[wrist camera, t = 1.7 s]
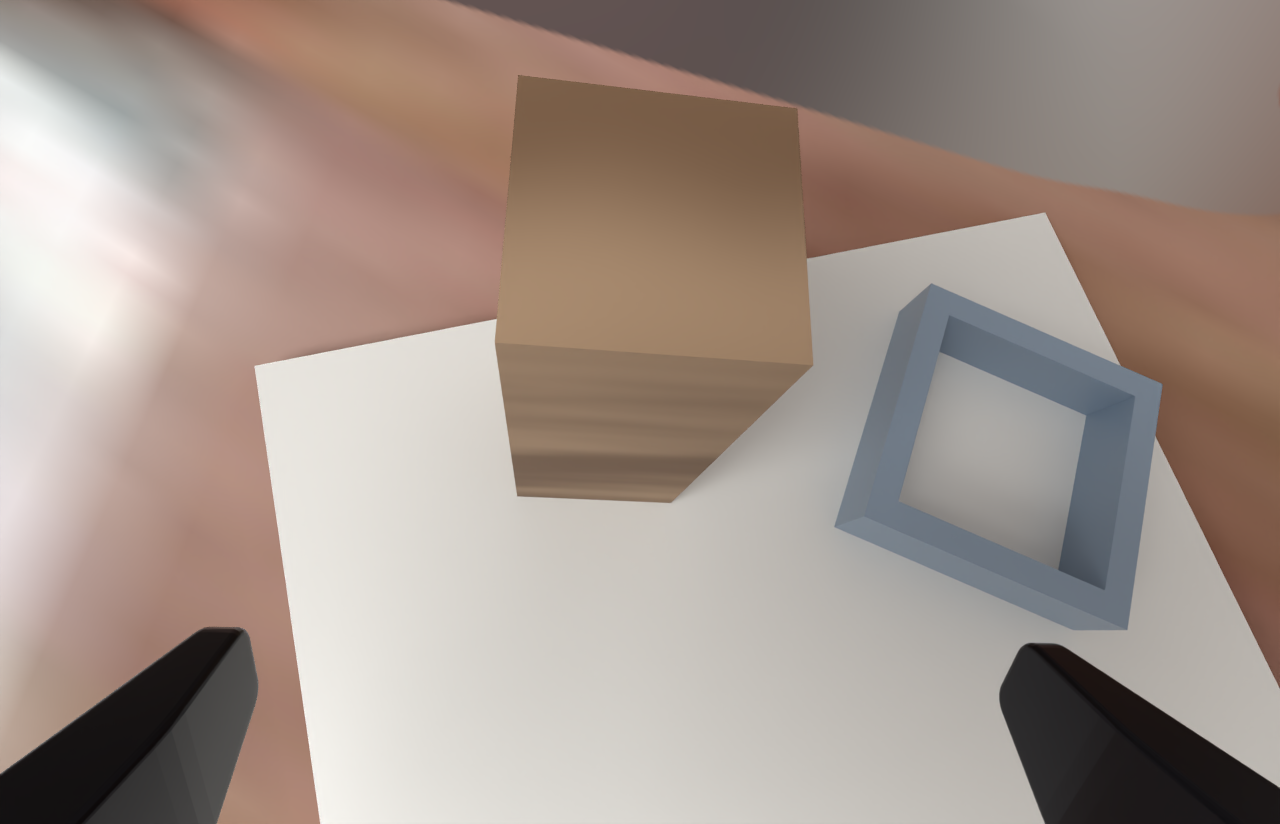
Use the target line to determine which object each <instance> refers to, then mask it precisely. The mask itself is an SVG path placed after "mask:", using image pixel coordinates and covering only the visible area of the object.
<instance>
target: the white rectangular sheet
mask: <svg viewBox="0 0 1280 824" xmlns="http://www.w3.org/2000/svg"><path fill="white" fill-rule="evenodd" d="M807 272H808V288H809V304H810V320H811V336H812V352H813V366H812V367H811V368H810V369H809V370H808V371H807V372H806V373H805V374H804V375H803V376H802V377H801V378H800V379H799V380H798V381H797V382H795V383H794V384H793V385H792V386H791V387H790V388H789V389H788V390H787V391H786V392H785V393H784V394H783V395H782V396H781V397H780V398H779V399H778V400H777V401H776V402H775V403H774V404H773V405H772V406H771V407H770V408H769V409H768V410H767V411H765V412H764V413H763V414H762V415H761V416H760V417H759V418H758V419H757V420H756V421H755V422H754V423H753V424H752V425H751V426H750V427H749V428H748V429H747V430H746V431H745V432H744V433H743V434H742V435H741V436H740V437H739V438H738V439H737V440H735V441H734V442H733V443H732V444H731V445H730V446H729V447H728V448H727V449H726V450H725V451H724V452H723V453H722V454H721V455H720V456H719V457H718V458H717V459H716V460H715V461H714V462H713V463H712V464H711V465H710V466H709V467H708V468H707V469H705V470H704V471H703V472H702V473H701V474H700V475H699V476H698V477H697V478H696V479H695V480H694V481H693V482H692V483H691V484H690V485H689V486H688V487H687V488H686V489H685V490H684V491H683V492H682V493H681V494H680V495H679V496H678V497H677V498H676V499H674V500H673V501H672V502H671V503H658V502H635V501H612V500H589V499H566V498H543V497H520V496H517V492H516V485H515V478H514V471H513V464H512V458H511V451H510V444H509V437H508V430H507V424H506V417H505V410H504V403H503V396H502V389H501V383H500V376H499V369H498V362H497V355H496V349H495V333H496V321H497V319H494V320H489V321H484V322H479V323H474V324H468V325H463V326H458V327H453V328H448V329H443V330H438V331H432V332H427V333H422V334H417V335H412V336H407V337H401V338H396V339H391V340H386V341H381V342H376V343H371V344H365V345H360V346H355V347H350V348H345V349H340V350H334V351H329V352H324V353H319V354H314V355H309V356H304V357H298V358H293V359H288V360H283V361H278V362H273V363H267V364H262V365H257V366H255V372H256V379H257V386H258V393H259V400H260V407H261V414H262V421H263V428H264V435H265V442H266V449H267V455H268V462H269V469H270V476H271V483H272V490H273V497H274V504H275V511H276V518H277V525H278V532H279V539H280V546H281V553H282V560H283V567H284V574H285V580H286V587H287V594H288V601H289V608H290V615H291V622H292V629H293V636H294V643H295V650H296V657H297V664H298V671H299V678H300V685H301V692H302V699H303V705H304V712H305V719H306V726H307V733H308V740H309V747H310V754H311V761H312V768H313V775H314V782H315V789H316V796H317V803H318V810H319V817H320V824H1045V823H1044V820H1043V818H1042V816H1041V813H1040V810H1039V808H1038V805H1037V803H1036V800H1035V797H1034V795H1033V792H1032V789H1031V787H1030V784H1029V782H1028V779H1027V776H1026V774H1025V771H1024V769H1023V766H1022V763H1021V761H1020V758H1019V755H1018V753H1017V750H1016V748H1015V745H1014V742H1013V740H1012V737H1011V735H1010V732H1009V729H1008V727H1007V724H1006V721H1005V719H1004V716H1003V714H1002V711H1001V708H1000V702H999V691H1000V687H1001V684H1002V682H1003V680H1004V678H1005V676H1006V674H1007V672H1008V670H1009V668H1010V666H1011V664H1012V662H1013V660H1014V658H1015V656H1016V654H1017V652H1018V650H1019V649H1020V648H1021V647H1022V646H1023V645H1025V644H1026V643H1055V644H1059V645H1062V646H1064V647H1066V648H1067V649H1069V650H1070V651H1072V652H1073V653H1075V654H1076V655H1078V656H1079V657H1081V658H1083V659H1084V660H1086V661H1087V662H1089V663H1090V664H1092V665H1093V666H1095V667H1096V668H1098V669H1099V670H1101V671H1102V672H1104V673H1105V674H1107V675H1108V676H1110V677H1112V678H1113V679H1115V680H1116V681H1118V682H1119V683H1121V684H1122V685H1124V686H1125V687H1127V688H1128V689H1130V690H1131V691H1133V692H1134V693H1136V694H1138V695H1139V696H1141V697H1142V698H1144V699H1145V700H1147V701H1148V702H1150V703H1151V704H1153V705H1154V706H1156V707H1157V708H1159V709H1160V710H1162V711H1164V712H1165V713H1167V714H1168V715H1170V716H1171V717H1173V718H1174V719H1176V720H1177V721H1179V722H1180V723H1182V724H1183V725H1185V726H1186V727H1188V728H1189V729H1191V730H1193V731H1194V732H1196V733H1197V734H1199V735H1200V736H1202V737H1203V738H1205V739H1206V740H1208V741H1209V742H1211V743H1212V744H1214V745H1215V746H1217V747H1219V748H1220V749H1222V750H1223V751H1225V752H1226V753H1228V754H1229V755H1231V756H1232V757H1234V758H1235V759H1237V760H1238V761H1240V762H1241V763H1243V764H1245V765H1246V766H1248V767H1249V768H1251V769H1252V770H1254V771H1255V772H1257V773H1258V774H1260V775H1261V776H1263V777H1264V778H1266V779H1267V780H1269V781H1271V782H1272V783H1274V784H1275V785H1277V786H1278V787H1280V688H1279V686H1278V684H1277V682H1276V680H1275V678H1274V676H1273V674H1272V672H1271V670H1270V668H1269V666H1268V664H1267V662H1266V660H1265V658H1264V656H1263V654H1262V652H1261V650H1260V648H1259V646H1258V644H1257V642H1256V640H1255V638H1254V636H1253V634H1252V631H1251V629H1250V627H1249V625H1248V623H1247V621H1246V619H1245V617H1244V615H1243V613H1242V611H1241V609H1240V607H1239V605H1238V603H1237V601H1236V599H1235V597H1234V595H1233V593H1232V591H1231V589H1230V587H1229V585H1228V583H1227V581H1226V579H1225V577H1224V575H1223V573H1222V571H1221V569H1220V567H1219V565H1218V562H1217V560H1216V558H1215V556H1214V554H1213V552H1212V550H1211V548H1210V546H1209V544H1208V542H1207V540H1206V538H1205V536H1204V534H1203V532H1202V530H1201V528H1200V526H1199V524H1198V522H1197V520H1196V518H1195V516H1194V514H1193V512H1192V510H1191V508H1190V506H1189V504H1188V502H1187V500H1186V498H1185V496H1184V493H1183V491H1182V489H1181V487H1180V485H1179V483H1178V481H1177V479H1176V477H1175V475H1174V473H1173V471H1172V469H1171V467H1170V465H1169V463H1168V461H1167V459H1166V457H1165V455H1164V453H1163V451H1162V449H1161V447H1160V445H1159V443H1158V441H1157V439H1156V437H1155V441H1154V448H1153V455H1152V462H1151V469H1150V476H1149V483H1148V490H1147V497H1146V504H1145V511H1144V518H1143V525H1142V532H1141V539H1140V546H1139V553H1138V560H1137V567H1136V574H1135V581H1134V588H1133V595H1132V602H1131V609H1130V616H1129V623H1128V630H1072V629H1069V628H1067V627H1065V626H1062V625H1060V624H1058V623H1055V622H1053V621H1051V620H1048V619H1046V618H1044V617H1041V616H1039V615H1037V614H1034V613H1032V612H1030V611H1028V610H1025V609H1023V608H1021V607H1018V606H1016V605H1014V604H1011V603H1009V602H1007V601H1004V600H1002V599H1000V598H997V597H995V596H993V595H990V594H988V593H986V592H983V591H981V590H979V589H977V588H974V587H972V586H970V585H967V584H965V583H963V582H960V581H958V580H956V579H953V578H951V577H949V576H946V575H944V574H942V573H939V572H937V571H935V570H933V569H930V568H928V567H926V566H923V565H921V564H919V563H916V562H914V561H912V560H909V559H907V558H905V557H902V556H900V555H898V554H895V553H893V552H891V551H888V550H886V549H884V548H882V547H879V546H877V545H875V544H872V543H870V542H868V541H865V540H863V539H861V538H858V537H856V536H854V535H851V534H849V533H847V532H844V531H842V530H840V529H838V528H835V527H834V526H835V522H836V519H837V516H838V512H839V509H840V506H841V503H842V499H843V496H844V493H845V489H846V486H847V483H848V479H849V476H850V473H851V469H852V466H853V463H854V459H855V456H856V453H857V450H858V446H859V443H860V440H861V436H862V433H863V430H864V426H865V423H866V420H867V416H868V413H869V410H870V407H871V403H872V400H873V397H874V393H875V390H876V387H877V383H878V380H879V377H880V373H881V370H882V367H883V363H884V360H885V357H886V354H887V350H888V347H889V344H890V340H891V337H892V334H893V330H894V327H895V324H896V320H897V317H898V314H899V311H900V310H902V309H903V308H904V307H905V306H906V305H907V304H908V303H910V302H911V301H912V300H913V299H914V298H915V297H916V296H917V295H919V294H920V293H921V292H922V291H923V290H924V289H925V288H926V287H928V286H929V285H930V284H931V283H932V284H934V285H936V286H939V287H941V288H943V289H946V290H948V291H950V292H952V293H955V294H957V295H959V296H962V297H964V298H966V299H968V300H971V301H973V302H975V303H978V304H980V305H982V306H985V307H987V308H989V309H991V310H994V311H996V312H998V313H1001V314H1003V315H1005V316H1007V317H1010V318H1012V319H1014V320H1017V321H1019V322H1021V323H1024V324H1026V325H1028V326H1030V327H1033V328H1035V329H1037V330H1040V331H1042V332H1044V333H1046V334H1049V335H1051V336H1053V337H1056V338H1058V339H1060V340H1062V341H1065V342H1067V343H1069V344H1072V345H1074V346H1076V347H1079V348H1081V349H1083V350H1085V351H1088V352H1090V353H1092V354H1095V355H1097V356H1099V357H1101V358H1104V359H1106V360H1108V361H1111V362H1113V363H1115V364H1118V365H1120V364H1119V362H1118V360H1117V358H1116V355H1115V353H1114V351H1113V349H1112V347H1111V345H1110V343H1109V341H1108V339H1107V337H1106V335H1105V333H1104V331H1103V329H1102V327H1101V325H1100V323H1099V321H1098V319H1097V317H1096V315H1095V313H1094V311H1093V309H1092V307H1091V305H1090V303H1089V301H1088V299H1087V297H1086V295H1085V293H1084V291H1083V289H1082V286H1081V284H1080V282H1079V280H1078V278H1077V276H1076V274H1075V272H1074V270H1073V268H1072V266H1071V264H1070V262H1069V260H1068V258H1067V256H1066V254H1065V252H1064V250H1063V248H1062V246H1061V244H1060V242H1059V240H1058V238H1057V236H1056V234H1055V232H1054V230H1053V228H1052V226H1051V224H1050V222H1049V220H1048V217H1047V215H1046V213H1040V214H1035V215H1030V216H1025V217H1020V218H1015V219H1009V220H1004V221H999V222H994V223H989V224H984V225H979V226H973V227H968V228H963V229H958V230H953V231H948V232H942V233H937V234H932V235H927V236H922V237H917V238H912V239H906V240H901V241H896V242H891V243H886V244H881V245H875V246H870V247H865V248H860V249H855V250H850V251H845V252H839V253H834V254H829V255H824V256H819V257H814V258H808V259H807ZM1085 420H1086V415H1084V414H1081V413H1079V412H1077V411H1075V410H1072V409H1070V408H1068V407H1065V406H1063V405H1061V404H1059V403H1056V402H1054V401H1052V400H1049V399H1047V398H1045V397H1042V396H1040V395H1038V394H1036V393H1033V392H1031V391H1029V390H1026V389H1024V388H1022V387H1019V386H1017V385H1015V384H1013V383H1010V382H1008V381H1006V380H1003V379H1001V378H999V377H996V376H994V375H992V374H990V373H987V372H985V371H983V370H980V369H978V368H976V367H973V366H971V365H969V364H967V363H964V362H962V361H960V360H957V359H955V358H953V357H951V356H948V355H946V354H944V353H941V352H939V354H938V358H937V362H936V365H935V369H934V373H933V376H932V380H931V384H930V387H929V391H928V395H927V398H926V402H925V406H924V409H923V413H922V417H921V420H920V424H919V428H918V432H917V435H916V439H915V443H914V446H913V450H912V454H911V457H910V461H909V465H908V468H907V472H906V476H905V479H904V483H903V487H902V490H901V494H900V498H899V502H902V503H904V504H906V505H909V506H911V507H913V508H916V509H918V510H920V511H923V512H925V513H927V514H929V515H932V516H934V517H936V518H939V519H941V520H943V521H946V522H948V523H950V524H953V525H955V526H957V527H960V528H962V529H964V530H966V531H969V532H971V533H973V534H976V535H978V536H980V537H983V538H985V539H987V540H990V541H992V542H994V543H997V544H999V545H1001V546H1003V547H1006V548H1008V549H1010V550H1013V551H1015V552H1017V553H1020V554H1022V555H1024V556H1027V557H1029V558H1031V559H1033V560H1036V561H1038V562H1040V563H1043V564H1045V565H1047V566H1050V567H1052V568H1054V569H1057V570H1058V568H1059V563H1060V557H1061V552H1062V546H1063V541H1064V535H1065V530H1066V524H1067V519H1068V513H1069V508H1070V502H1071V497H1072V491H1073V486H1074V480H1075V475H1076V469H1077V464H1078V458H1079V453H1080V447H1081V442H1082V436H1083V431H1084V425H1085Z"/></svg>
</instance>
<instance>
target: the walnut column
mask: <svg viewBox="0 0 1280 824" xmlns="http://www.w3.org/2000/svg"><path fill="white" fill-rule="evenodd" d="M495 349H496V355H497V362H498V369H499V376H500V383H501V389H502V396H503V403H504V410H505V417H506V424H507V430H508V437H509V444H510V451H511V458H512V464H513V471H514V478H515V485H516V492H517V496H520V497H543V498H566V499H589V500H612V501H635V502H658V503H671V502H672V501H673V500H674V499H676V498H677V497H678V496H679V495H680V494H681V493H682V492H683V491H684V490H685V489H686V488H687V487H688V486H689V485H690V484H691V483H692V482H693V481H694V480H695V479H696V478H697V477H698V476H699V475H700V474H701V473H702V472H703V471H704V470H705V469H707V468H708V467H709V466H710V465H711V464H712V463H713V462H714V461H715V460H716V459H717V458H718V457H719V456H720V455H721V454H722V453H723V452H724V451H725V450H726V449H727V448H728V447H729V446H730V445H731V444H732V443H733V442H734V441H735V440H737V439H738V438H739V437H740V436H741V435H742V434H743V433H744V432H745V431H746V430H747V429H748V428H749V427H750V426H751V425H752V424H753V423H754V422H755V421H756V420H757V419H758V418H759V417H760V416H761V415H762V414H763V413H764V412H765V411H767V410H768V409H769V408H770V407H771V406H772V405H773V404H774V403H775V402H776V401H777V400H778V399H779V398H780V397H781V396H782V395H783V394H784V393H785V392H786V391H787V390H788V389H789V388H790V387H791V386H792V385H793V384H794V383H795V382H797V381H798V380H799V379H800V378H801V377H802V376H803V375H804V374H805V373H806V372H807V371H808V370H809V369H810V368H811V367H812V366H813V352H812V336H811V320H810V304H809V288H808V272H807V256H806V240H805V224H804V209H803V193H802V177H801V161H800V145H799V129H798V113H797V109H796V108H788V107H780V106H771V105H763V104H755V103H746V102H738V101H730V100H721V99H713V98H705V97H696V96H688V95H680V94H671V93H663V92H655V91H646V90H638V89H630V88H621V87H613V86H605V85H596V84H588V83H580V82H571V81H563V80H555V79H546V78H538V77H530V76H521V75H518V84H517V96H516V107H515V118H514V129H513V141H512V152H511V163H510V175H509V186H508V197H507V208H506V220H505V231H504V242H503V254H502V265H501V276H500V287H499V299H498V310H497V321H496V333H495Z"/></svg>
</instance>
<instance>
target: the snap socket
mask: <svg viewBox="0 0 1280 824" xmlns="http://www.w3.org/2000/svg"><path fill="white" fill-rule="evenodd" d="M939 352H941V353H944V354H946V355H948V356H951V357H953V358H955V359H957V360H960V361H962V362H964V363H967V364H969V365H971V366H973V367H976V368H978V369H980V370H983V371H985V372H987V373H990V374H992V375H994V376H996V377H999V378H1001V379H1003V380H1006V381H1008V382H1010V383H1013V384H1015V385H1017V386H1019V387H1022V388H1024V389H1026V390H1029V391H1031V392H1033V393H1036V394H1038V395H1040V396H1042V397H1045V398H1047V399H1049V400H1052V401H1054V402H1056V403H1059V404H1061V405H1063V406H1065V407H1068V408H1070V409H1072V410H1075V411H1077V412H1079V413H1081V414H1084V415H1086V420H1085V425H1084V431H1083V436H1082V442H1081V447H1080V453H1079V458H1078V464H1077V469H1076V475H1075V480H1074V486H1073V491H1072V497H1071V502H1070V508H1069V513H1068V519H1067V524H1066V530H1065V535H1064V541H1063V546H1062V552H1061V557H1060V563H1059V568H1058V570H1057V569H1054V568H1052V567H1050V566H1047V565H1045V564H1043V563H1040V562H1038V561H1036V560H1033V559H1031V558H1029V557H1027V556H1024V555H1022V554H1020V553H1017V552H1015V551H1013V550H1010V549H1008V548H1006V547H1003V546H1001V545H999V544H997V543H994V542H992V541H990V540H987V539H985V538H983V537H980V536H978V535H976V534H973V533H971V532H969V531H966V530H964V529H962V528H960V527H957V526H955V525H953V524H950V523H948V522H946V521H943V520H941V519H939V518H936V517H934V516H932V515H929V514H927V513H925V512H923V511H920V510H918V509H916V508H913V507H911V506H909V505H906V504H904V503H902V502H899V498H900V494H901V490H902V487H903V483H904V479H905V476H906V472H907V468H908V465H909V461H910V457H911V454H912V450H913V446H914V443H915V439H916V435H917V432H918V428H919V424H920V420H921V417H922V413H923V409H924V406H925V402H926V398H927V395H928V391H929V387H930V384H931V380H932V376H933V373H934V369H935V365H936V362H937V358H938V354H939ZM1162 385H1163V384H1161V383H1159V382H1156V381H1154V380H1152V379H1150V378H1147V377H1145V376H1143V375H1140V374H1138V373H1136V372H1134V371H1131V370H1129V369H1127V368H1124V367H1122V366H1120V365H1118V364H1115V363H1113V362H1111V361H1108V360H1106V359H1104V358H1101V357H1099V356H1097V355H1095V354H1092V353H1090V352H1088V351H1085V350H1083V349H1081V348H1079V347H1076V346H1074V345H1072V344H1069V343H1067V342H1065V341H1062V340H1060V339H1058V338H1056V337H1053V336H1051V335H1049V334H1046V333H1044V332H1042V331H1040V330H1037V329H1035V328H1033V327H1030V326H1028V325H1026V324H1024V323H1021V322H1019V321H1017V320H1014V319H1012V318H1010V317H1007V316H1005V315H1003V314H1001V313H998V312H996V311H994V310H991V309H989V308H987V307H985V306H982V305H980V304H978V303H975V302H973V301H971V300H968V299H966V298H964V297H962V296H959V295H957V294H955V293H952V292H950V291H948V290H946V289H943V288H941V287H939V286H936V285H934V284H932V283H931V284H930V285H929V286H928V287H926V288H925V289H924V290H923V291H922V292H921V293H920V294H919V295H917V296H916V297H915V298H914V299H913V300H912V301H911V302H910V303H908V304H907V305H906V306H905V307H904V308H903V309H902V310H900V311H899V314H898V317H897V320H896V324H895V327H894V330H893V334H892V337H891V340H890V344H889V347H888V350H887V354H886V357H885V360H884V363H883V367H882V370H881V373H880V377H879V380H878V383H877V387H876V390H875V393H874V397H873V400H872V403H871V407H870V410H869V413H868V416H867V420H866V423H865V426H864V430H863V433H862V436H861V440H860V443H859V446H858V450H857V453H856V456H855V459H854V463H853V466H852V469H851V473H850V476H849V479H848V483H847V486H846V489H845V493H844V496H843V499H842V503H841V506H840V509H839V512H838V516H837V519H836V522H835V526H834V527H835V528H838V529H840V530H842V531H844V532H847V533H849V534H851V535H854V536H856V537H858V538H861V539H863V540H865V541H868V542H870V543H872V544H875V545H877V546H879V547H882V548H884V549H886V550H888V551H891V552H893V553H895V554H898V555H900V556H902V557H905V558H907V559H909V560H912V561H914V562H916V563H919V564H921V565H923V566H926V567H928V568H930V569H933V570H935V571H937V572H939V573H942V574H944V575H946V576H949V577H951V578H953V579H956V580H958V581H960V582H963V583H965V584H967V585H970V586H972V587H974V588H977V589H979V590H981V591H983V592H986V593H988V594H990V595H993V596H995V597H997V598H1000V599H1002V600H1004V601H1007V602H1009V603H1011V604H1014V605H1016V606H1018V607H1021V608H1023V609H1025V610H1028V611H1030V612H1032V613H1034V614H1037V615H1039V616H1041V617H1044V618H1046V619H1048V620H1051V621H1053V622H1055V623H1058V624H1060V625H1062V626H1065V627H1067V628H1069V629H1072V630H1128V623H1129V616H1130V609H1131V602H1132V595H1133V588H1134V581H1135V574H1136V567H1137V560H1138V553H1139V546H1140V539H1141V532H1142V525H1143V518H1144V511H1145V504H1146V497H1147V490H1148V483H1149V476H1150V469H1151V462H1152V455H1153V448H1154V441H1155V434H1156V427H1157V420H1158V413H1159V406H1160V399H1161V392H1162Z"/></svg>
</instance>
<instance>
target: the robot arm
mask: <svg viewBox="0 0 1280 824" xmlns="http://www.w3.org/2000/svg"><path fill="white" fill-rule="evenodd" d="M257 695H258V677H257V672H256V667H255V662H254V657H253V652H252V647H251V642H250V637H249V635H248V633H247V631H246V630H245V629H243V628H240V627H206V628H203V629H200V630H198V631H197V632H195V633H194V634H192V635H191V636H190V637H188V638H187V639H185V640H184V641H183V642H181V643H180V644H179V645H177V646H176V647H174V648H173V649H172V650H170V651H169V652H167V653H166V654H165V655H163V656H162V657H161V658H159V659H158V660H156V661H155V662H154V663H152V664H151V665H150V666H148V667H147V668H145V669H144V670H143V671H141V672H140V673H139V674H137V675H136V676H134V677H133V678H132V679H130V680H129V681H128V682H126V683H125V684H123V685H122V686H121V687H119V688H118V689H116V690H115V691H114V692H112V693H111V694H110V695H108V696H107V697H105V698H104V699H103V700H101V701H100V702H99V703H97V704H96V705H94V706H93V707H92V708H90V709H89V710H88V711H86V712H85V713H83V714H82V715H81V716H79V717H78V718H76V719H75V720H74V721H72V722H71V723H70V724H68V725H67V726H65V727H64V728H63V729H61V730H60V731H59V732H57V733H56V734H54V735H53V736H52V737H50V738H49V739H48V740H46V741H45V742H43V743H42V744H41V745H39V746H38V747H37V748H35V749H34V750H32V751H31V752H30V753H28V754H27V755H25V756H24V757H23V758H21V759H20V760H19V761H17V762H16V763H14V764H13V765H12V766H10V767H9V768H8V769H6V770H5V771H3V772H2V773H1V774H0V824H217V821H218V818H219V815H220V812H221V809H222V806H223V803H224V800H225V796H226V793H227V790H228V787H229V784H230V781H231V778H232V775H233V772H234V769H235V766H236V763H237V760H238V757H239V753H240V750H241V747H242V744H243V741H244V738H245V735H246V732H247V729H248V726H249V723H250V720H251V717H252V713H253V710H254V707H255V704H256V700H257ZM999 702H1000V708H1001V711H1002V714H1003V716H1004V719H1005V721H1006V724H1007V727H1008V729H1009V732H1010V735H1011V737H1012V740H1013V742H1014V745H1015V748H1016V750H1017V753H1018V755H1019V758H1020V761H1021V763H1022V766H1023V769H1024V771H1025V774H1026V776H1027V779H1028V782H1029V784H1030V787H1031V789H1032V792H1033V795H1034V797H1035V800H1036V803H1037V805H1038V808H1039V810H1040V813H1041V816H1042V818H1043V820H1044V823H1045V824H1280V787H1278V786H1277V785H1275V784H1274V783H1272V782H1271V781H1269V780H1267V779H1266V778H1264V777H1263V776H1261V775H1260V774H1258V773H1257V772H1255V771H1254V770H1252V769H1251V768H1249V767H1248V766H1246V765H1245V764H1243V763H1241V762H1240V761H1238V760H1237V759H1235V758H1234V757H1232V756H1231V755H1229V754H1228V753H1226V752H1225V751H1223V750H1222V749H1220V748H1219V747H1217V746H1215V745H1214V744H1212V743H1211V742H1209V741H1208V740H1206V739H1205V738H1203V737H1202V736H1200V735H1199V734H1197V733H1196V732H1194V731H1193V730H1191V729H1189V728H1188V727H1186V726H1185V725H1183V724H1182V723H1180V722H1179V721H1177V720H1176V719H1174V718H1173V717H1171V716H1170V715H1168V714H1167V713H1165V712H1164V711H1162V710H1160V709H1159V708H1157V707H1156V706H1154V705H1153V704H1151V703H1150V702H1148V701H1147V700H1145V699H1144V698H1142V697H1141V696H1139V695H1138V694H1136V693H1134V692H1133V691H1131V690H1130V689H1128V688H1127V687H1125V686H1124V685H1122V684H1121V683H1119V682H1118V681H1116V680H1115V679H1113V678H1112V677H1110V676H1108V675H1107V674H1105V673H1104V672H1102V671H1101V670H1099V669H1098V668H1096V667H1095V666H1093V665H1092V664H1090V663H1089V662H1087V661H1086V660H1084V659H1083V658H1081V657H1079V656H1078V655H1076V654H1075V653H1073V652H1072V651H1070V650H1069V649H1067V648H1066V647H1064V646H1062V645H1059V644H1055V643H1026V644H1025V645H1023V646H1022V647H1021V648H1020V649H1019V650H1018V652H1017V654H1016V656H1015V658H1014V660H1013V662H1012V664H1011V666H1010V668H1009V670H1008V672H1007V674H1006V676H1005V678H1004V680H1003V682H1002V684H1001V687H1000V691H999Z"/></svg>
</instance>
